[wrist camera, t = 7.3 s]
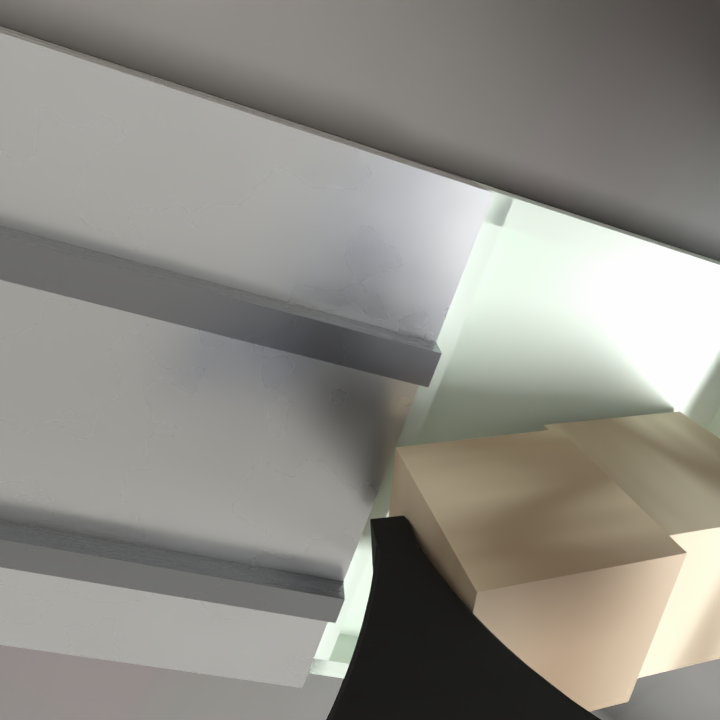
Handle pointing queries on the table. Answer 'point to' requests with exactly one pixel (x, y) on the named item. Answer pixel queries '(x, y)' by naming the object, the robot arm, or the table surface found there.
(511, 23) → the table surface
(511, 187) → the table surface
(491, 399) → the tray
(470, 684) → the robot arm
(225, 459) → the slotted bed
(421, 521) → the tan cube
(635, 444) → the wooden cube
